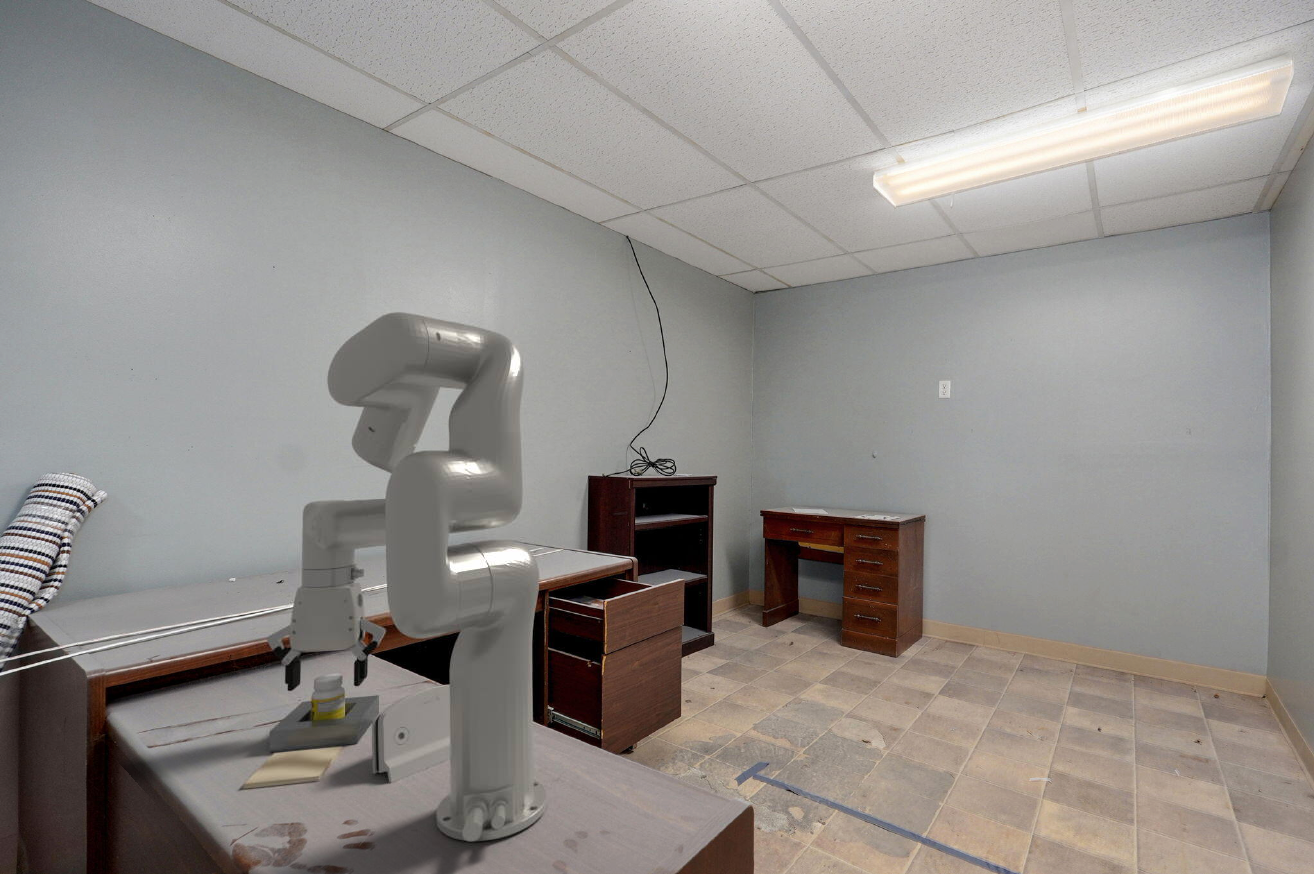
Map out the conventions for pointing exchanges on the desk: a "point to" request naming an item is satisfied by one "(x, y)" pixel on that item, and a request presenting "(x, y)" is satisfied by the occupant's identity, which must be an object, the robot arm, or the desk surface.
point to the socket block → (324, 726)
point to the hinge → (412, 733)
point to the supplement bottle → (328, 698)
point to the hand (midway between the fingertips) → (326, 685)
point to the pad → (293, 767)
